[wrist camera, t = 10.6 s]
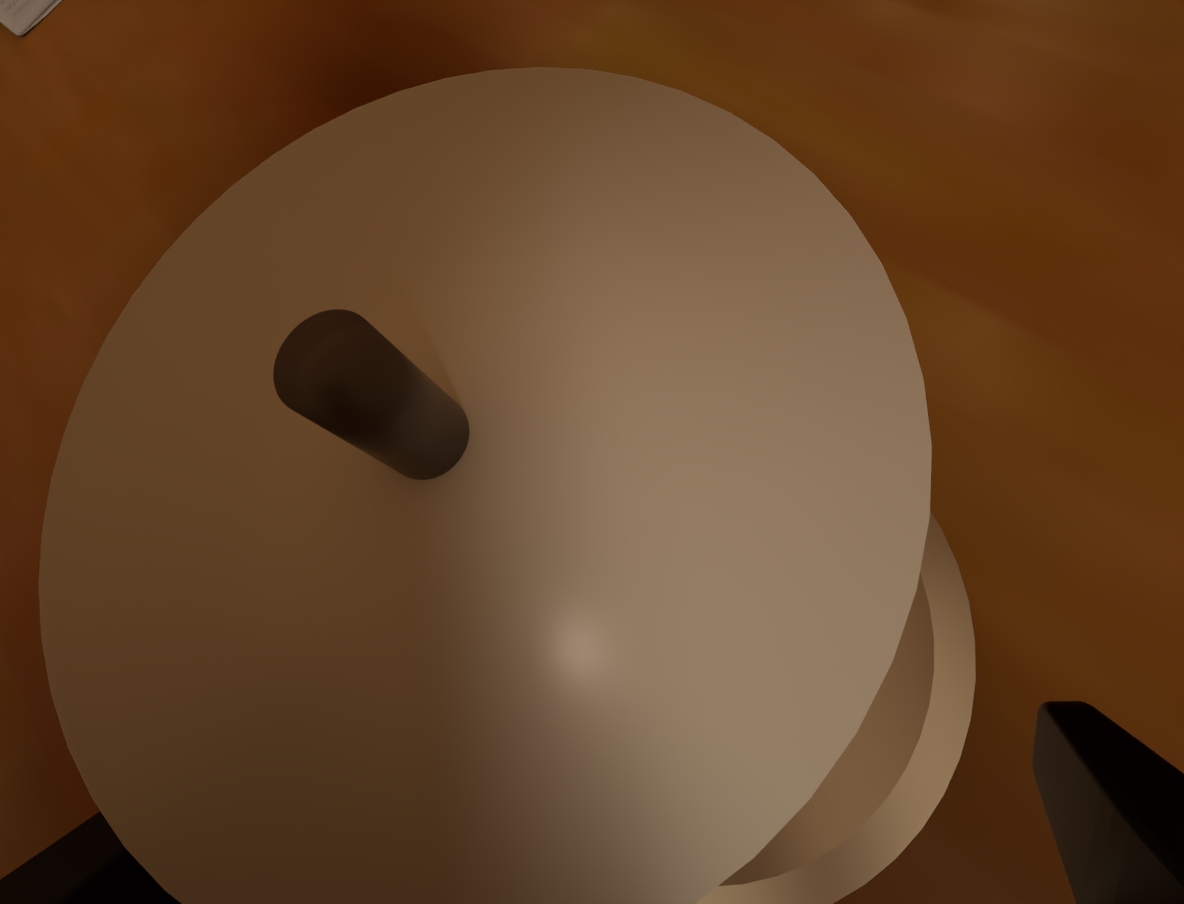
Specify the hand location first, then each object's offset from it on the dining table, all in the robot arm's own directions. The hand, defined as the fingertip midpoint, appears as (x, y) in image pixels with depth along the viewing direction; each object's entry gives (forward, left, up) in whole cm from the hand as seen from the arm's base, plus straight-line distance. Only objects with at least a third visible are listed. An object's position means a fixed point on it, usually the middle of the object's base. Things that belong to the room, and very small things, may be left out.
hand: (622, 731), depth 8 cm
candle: (+1, +2, -8) cm, 8 cm away
